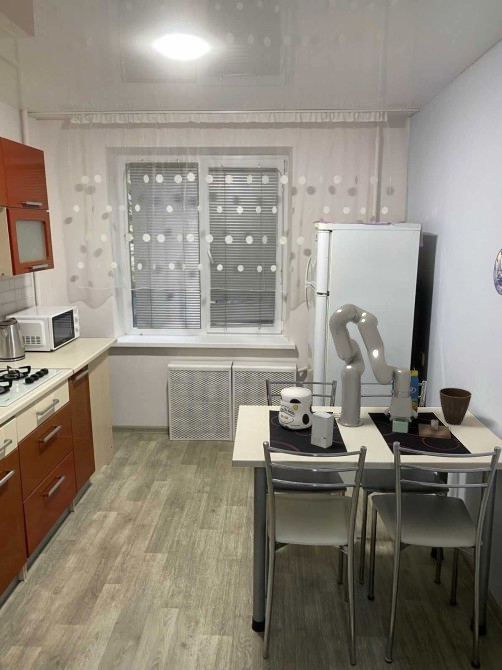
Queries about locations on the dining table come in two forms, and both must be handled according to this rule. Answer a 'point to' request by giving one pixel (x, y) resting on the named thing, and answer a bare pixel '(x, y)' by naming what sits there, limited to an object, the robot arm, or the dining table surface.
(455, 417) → the plant pot
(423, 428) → the post base
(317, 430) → the skincare box
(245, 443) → the dining table surface
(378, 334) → the robot arm
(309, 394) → the milk container
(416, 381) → the blue food package
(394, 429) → the pale green box
